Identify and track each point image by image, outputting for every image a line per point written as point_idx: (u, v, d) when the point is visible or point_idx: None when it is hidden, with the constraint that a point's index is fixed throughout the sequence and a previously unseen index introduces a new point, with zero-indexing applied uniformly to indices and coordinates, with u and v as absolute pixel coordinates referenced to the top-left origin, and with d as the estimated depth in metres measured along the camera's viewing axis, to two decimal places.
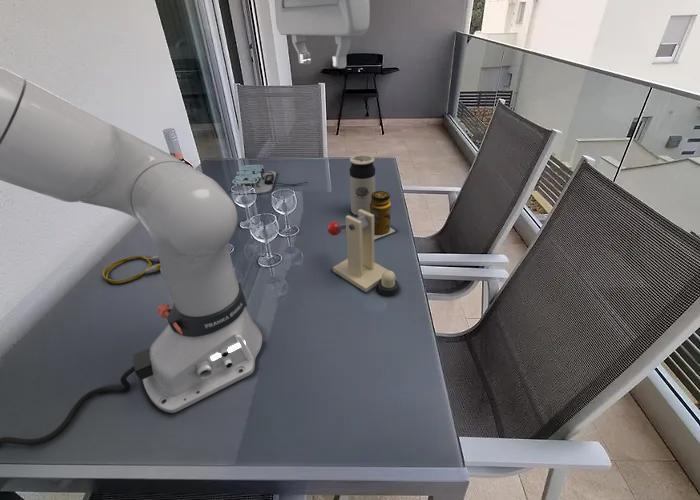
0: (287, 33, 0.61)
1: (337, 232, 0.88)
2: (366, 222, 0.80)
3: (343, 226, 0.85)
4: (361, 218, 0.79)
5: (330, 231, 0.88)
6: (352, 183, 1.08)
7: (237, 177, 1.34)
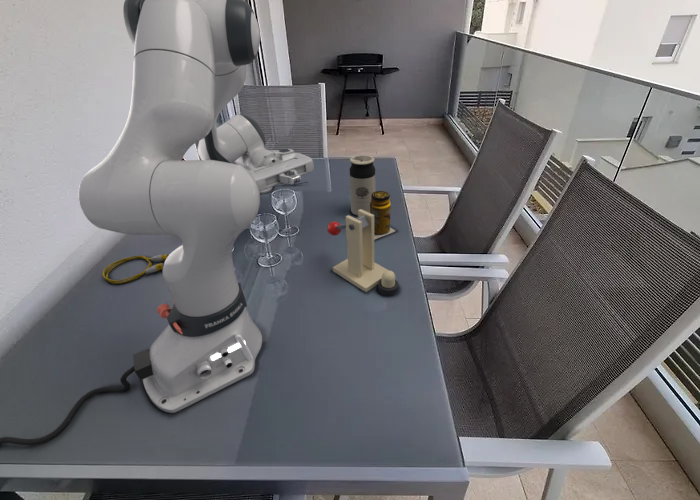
0: (264, 176, 0.92)
1: (337, 232, 0.88)
2: (366, 222, 0.80)
3: (343, 226, 0.85)
4: (361, 218, 0.79)
5: (330, 231, 0.88)
6: (352, 183, 1.08)
7: None
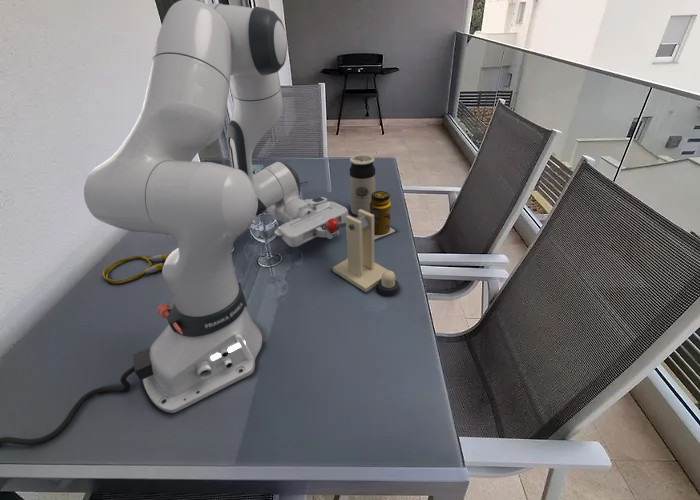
0: (301, 232, 0.89)
1: (336, 229, 0.88)
2: (366, 222, 0.80)
3: (343, 224, 0.85)
4: (361, 218, 0.79)
5: (329, 228, 0.88)
6: (352, 183, 1.08)
7: None
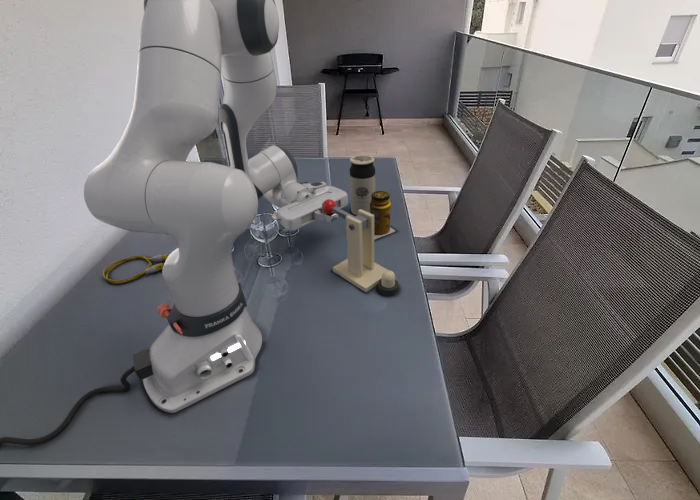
0: (299, 215, 0.86)
1: (331, 212, 0.87)
2: (366, 225, 0.80)
3: (341, 214, 0.84)
4: (363, 221, 0.79)
5: (324, 210, 0.86)
6: (352, 183, 1.08)
7: None
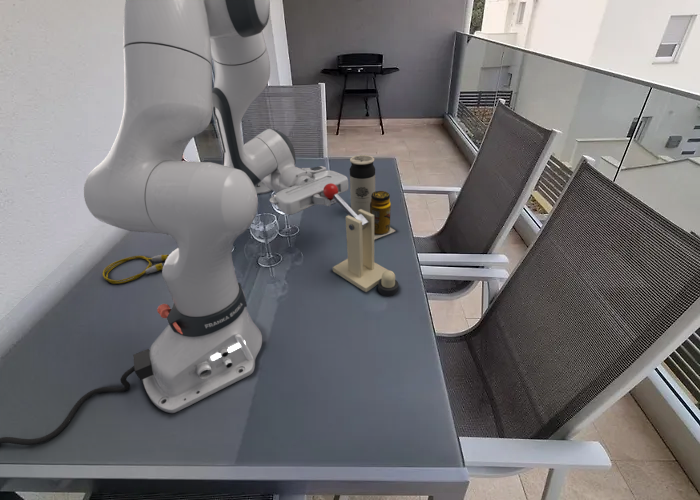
0: (298, 198, 0.83)
1: None
2: (365, 226, 0.81)
3: (342, 205, 0.82)
4: (364, 224, 0.79)
5: (326, 194, 0.83)
6: (352, 183, 1.08)
7: None
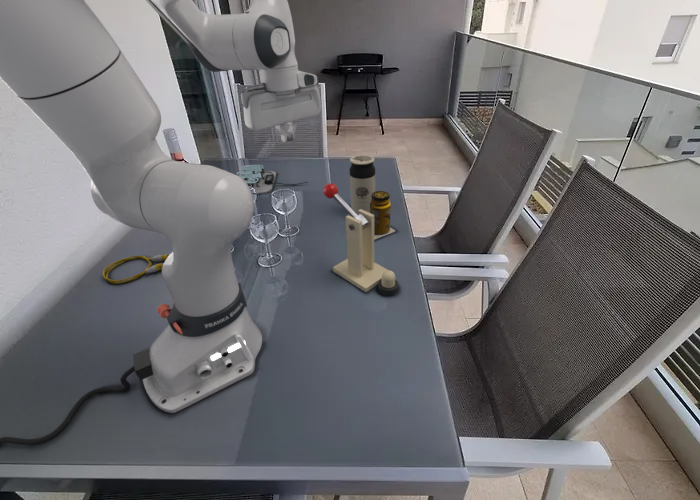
0: (265, 127, 0.80)
1: None
2: (365, 226, 0.81)
3: (342, 205, 0.82)
4: (364, 224, 0.79)
5: (326, 194, 0.83)
6: (352, 183, 1.08)
7: None
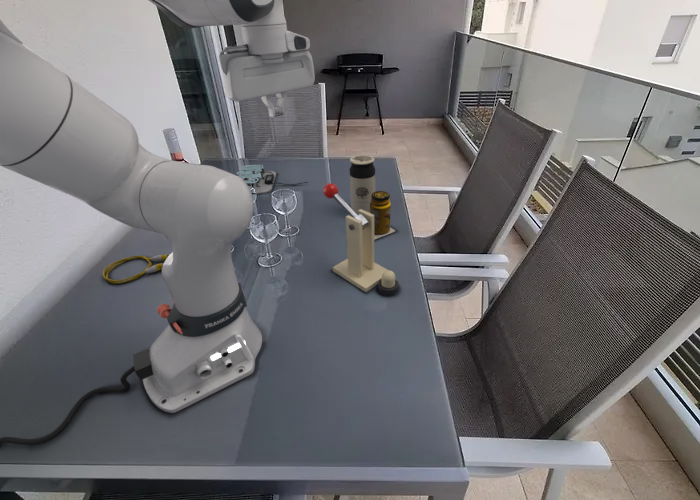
0: (249, 98, 0.69)
1: None
2: (365, 226, 0.81)
3: (342, 205, 0.82)
4: (364, 224, 0.79)
5: (326, 194, 0.83)
6: (352, 183, 1.08)
7: None
